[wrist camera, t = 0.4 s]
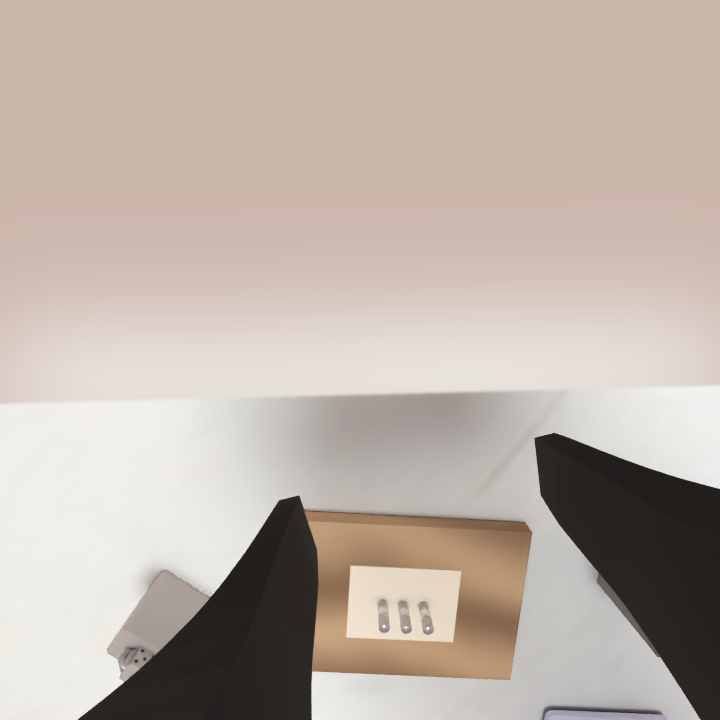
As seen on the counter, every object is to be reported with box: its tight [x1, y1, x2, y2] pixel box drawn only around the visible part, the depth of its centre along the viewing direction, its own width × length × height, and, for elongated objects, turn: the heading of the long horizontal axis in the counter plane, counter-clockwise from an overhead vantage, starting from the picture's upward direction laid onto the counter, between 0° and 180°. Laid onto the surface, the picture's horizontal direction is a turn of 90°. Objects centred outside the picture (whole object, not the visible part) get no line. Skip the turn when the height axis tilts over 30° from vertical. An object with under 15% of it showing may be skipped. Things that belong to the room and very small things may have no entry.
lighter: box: [107, 570, 210, 681], centre depth 21 cm, size 7×2×8 cm, turn 52°
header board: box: [304, 511, 532, 680], centre depth 23 cm, size 10×14×3 cm
